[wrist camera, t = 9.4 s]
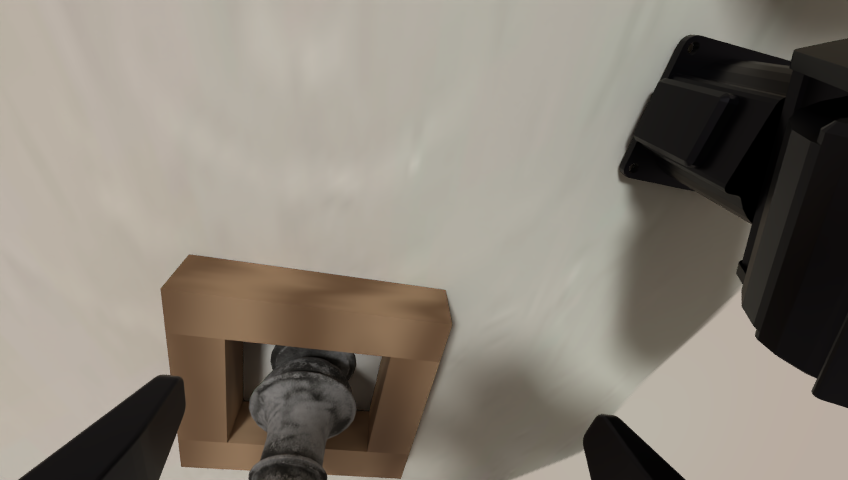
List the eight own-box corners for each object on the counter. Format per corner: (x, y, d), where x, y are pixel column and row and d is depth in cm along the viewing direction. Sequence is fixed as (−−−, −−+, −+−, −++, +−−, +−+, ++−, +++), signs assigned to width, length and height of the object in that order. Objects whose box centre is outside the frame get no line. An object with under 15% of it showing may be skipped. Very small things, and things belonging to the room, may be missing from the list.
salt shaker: (263, 323, 24) (164, 567, 13) (363, 329, 24) (343, 564, 14) (268, 391, 26) (189, 635, 16) (357, 394, 27) (337, 629, 17)
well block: (445, 290, 23) (452, 324, 21) (399, 438, 30) (400, 478, 27) (189, 254, 21) (160, 288, 18) (201, 423, 28) (181, 466, 25)
